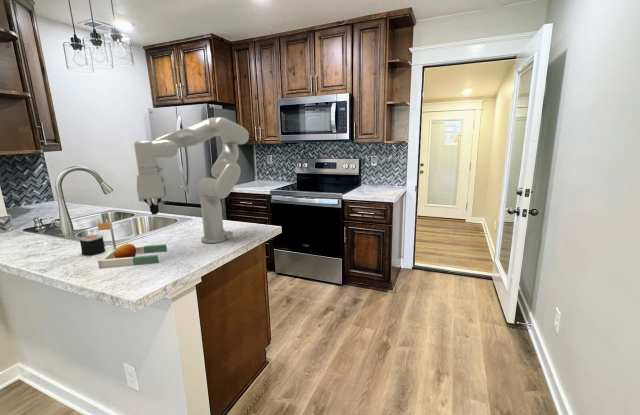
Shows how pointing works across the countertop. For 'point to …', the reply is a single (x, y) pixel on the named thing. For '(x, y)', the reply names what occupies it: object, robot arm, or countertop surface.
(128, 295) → the countertop surface
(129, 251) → the fruit
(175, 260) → the countertop surface
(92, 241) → the sushi
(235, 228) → the countertop surface
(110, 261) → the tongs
